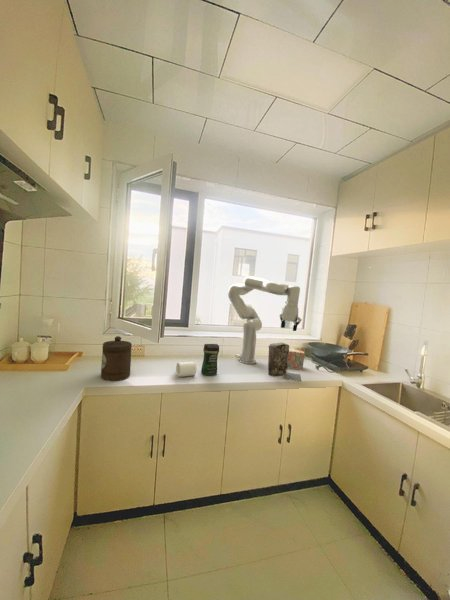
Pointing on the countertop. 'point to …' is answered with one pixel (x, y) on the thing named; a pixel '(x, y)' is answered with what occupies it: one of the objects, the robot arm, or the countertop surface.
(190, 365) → the mug
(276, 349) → the stone block
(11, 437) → the countertop surface
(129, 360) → the wooden container
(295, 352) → the stack of blocks
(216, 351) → the coffee jar
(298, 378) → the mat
